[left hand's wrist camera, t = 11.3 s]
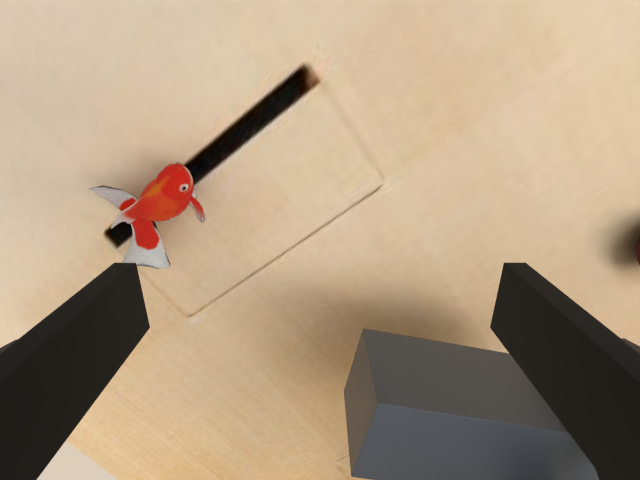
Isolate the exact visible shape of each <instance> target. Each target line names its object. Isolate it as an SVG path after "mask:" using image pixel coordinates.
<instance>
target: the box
mask: <svg viewBox="0 0 640 480" xmlns="http://www.w3.org/2000/svg"><path fill="white" fill-rule="evenodd" d="M344 397H345V409H346V420H347V432H348V443H349V455H350V466H351V476H352V477H359V478H367V479H374V480H599V478H598V475H597V472H596V470H595V467H594V466H593V465H592V463H591V462H590V461H589V459H588V458H587V457H586V455H585V454H584V453H583V451H582V450H581V449H580V447H579V446H578V445H577V443H576V442H575V441H574V439H573V438H572V437H571V435H570V434H569V433H568V431H567V430H566V429H565V427H564V426H563V425H562V423H561V422H560V420H559V419H558V418H557V416H556V415H555V414H554V412H553V411H552V410H551V408H550V407H549V406H548V404H547V403H546V402H545V400H544V399H543V398H542V396H541V395H540V394H539V392H538V391H537V390H536V388H535V387H534V386H533V384H532V383H531V382H530V380H529V379H528V378H527V376H526V375H525V374H524V372H523V371H522V369H521V368H520V367H519V365H518V364H517V363H516V361H515V360H514V359H513V357H512V356H511V355H510V354H508V353H502V352H497V351H491V350H485V349H479V348H473V347H468V346H462V345H456V344H450V343H445V342H439V341H433V340H427V339H421V338H416V337H410V336H404V335H398V334H393V333H387V332H381V331H375V330H369V329H363V331H362V334H361V338H360V341H359V344H358V347H357V351H356V354H355V357H354V360H353V364H352V367H351V370H350V373H349V377H348V380H347V383H346V386H345V390H344Z"/></svg>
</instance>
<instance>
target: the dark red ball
mask: <svg viewBox="0 0 640 480" xmlns="http://www.w3.org/2000/svg"><path fill="white" fill-rule="evenodd" d="M636 257H637V261H638V262H639V264H640V239H639V242H638V244H637V251H636Z"/></svg>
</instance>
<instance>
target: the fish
mask: <svg viewBox="0 0 640 480" xmlns="http://www.w3.org/2000/svg"><path fill="white" fill-rule="evenodd" d="M181 164H182V163H179V164H178V163H176V164H170V165H167V166H166V167H165V168H164V170H163V171H162V172H160V173H159V175H158V177H157V179H155V180H154V181H152V182H150V183H149V184H148V185H147V187H146V188H145V189H144V191H143V192H142V194H141V197H140V199H139V200H137V199H136V198H135V197H134V196H132V195H130V194H129V193H127V192H125V191H123V190H120V189H116V188H111V187H107V186H99V187H94V188H89V189H90V190H92V191H94V192H96V193H97V194H99V195H101V196H102V197H104V198H105V199H107V200H108V201H110V202H111V203H113V204H114V205H115V206H116V207H118V208H119V209H120V210H121V213H120V214H119V215H118V216H117V218H116V219H115V221H114V223H113V225H112V227H111V229H112V228H114V227H115V226H116V225H117V224H119V223H121V222H125V223H127V224H131V226H132V231H133V237H132V241H131V244H130V246H129V248H128V250H127V252H126V254H125V257H124V259H123V261H122V263H136V265H137V266H148V267H153V268H158V269H159V268H166V267H170V262H169V260H168V258H167V256H166V253H165V250H164V247H163V244H162V241H161V238H160V235H159V232H158V230H157V227H156V224H155V222H154V221H165V220H171V221H172V220H173V219H172V218H174V217H176V216H178V215H179V214H180V213H181V212H183V211H184V210H185V209H186V207H187V206H188V204H189V203H190V204H191V206H192V207H193V208H194V209H195V211H196V214H197V217H198V219H199V220H200V221H201V222H204V220H205V216H204V213H203V208H202V206H201V205H200V203H199V202H198V201H197V200H196V199H195V198H196V192H195V189H194V183H193V178H192V176H191V174H190V171H189V170H188V169H187V168H186V167H185V166H183V165H181ZM111 229H110V230H111Z"/></svg>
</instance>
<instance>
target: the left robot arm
mask: <svg viewBox="0 0 640 480" xmlns="http://www.w3.org/2000/svg"><path fill="white" fill-rule="evenodd" d="M149 328H150V326H149V322H148V317H147V312H146V308H145V303H144V298H143V293H142V289H141V284H140V279H139V275H138V270H137V265H136V263H114V264H112V265H111V266H110V267H109V268H107V269H106V270H105V271H104V272H102V273H101V274H100V275H99V276H97V277H96V278H95V279H94V280H92V281H91V282H90V283H89V284H87V285H86V286H85V287H84V288H82V289H81V290H80V291H78V292H77V293H76V294H75V295H73V296H72V297H71V298H70V299H68V300H67V301H66V302H65V303H63V304H62V305H61V306H60V307H58V308H57V309H56V310H55V311H53V312H52V313H51V314H50V315H48V316H47V317H46V318H45V319H43V320H42V321H41V322H40V323H38V324H37V325H36V326H35V327H33V328H32V329H31V330H30V331H28V332H27V333H26V334H25V335H23V336H22V337H21V338H19V339H18V340H15V341H13V342H11V343H9V344H7V345H5V346H3V347H1V348H0V480H37V478H38V477H39V475H40V474H41V473H42V471H43V470H44V469H45V467H46V466H47V465H48V463H49V462H50V461H51V459H52V458H53V457H54V455H55V454H56V453H57V451H58V450H59V449H60V447H61V446H62V445H63V443H64V442H65V441H66V439H67V438H68V437H69V435H70V434H71V433H72V431H73V430H74V429H75V427H76V426H77V425H78V423H79V422H80V420H81V419H82V418H83V416H84V415H85V414H86V412H87V411H88V410H89V408H90V407H91V406H92V404H93V403H94V402H95V400H96V399H97V398H98V396H99V395H100V394H101V392H102V391H103V390H104V388H105V387H106V386H107V384H108V383H109V382H110V380H111V379H112V378H113V376H114V375H115V374H116V372H117V371H118V369H119V368H120V367H121V365H122V364H123V363H124V361H125V360H126V359H127V357H128V356H129V355H130V353H131V352H132V351H133V349H134V348H135V347H136V345H137V344H138V343H139V341H140V340H141V339H142V337H143V336H144V335H145V333H146V332H147V331H148V329H149ZM490 328H491V329H492V331H493V332H494V333H495V335H496V336H497V337H498V339H499V340H500V341H501V343H502V344H503V345H504V347H505V348H506V349H507V351H508V352H509V353H510V355H511V356H512V357H513V359H514V360H515V361H516V363H517V364H518V365H519V367H520V368H521V369H522V371H523V372H524V374H525V375H526V376H527V378H528V379H529V380H530V382H531V383H532V384H533V386H534V387H535V388H536V390H537V391H538V392H539V394H540V395H541V396H542V398H543V399H544V400H545V402H546V403H547V404H548V406H549V407H550V408H551V410H552V411H553V412H554V414H555V415H556V416H557V418H558V419H559V420H560V422H561V423H562V425H563V426H564V427H565V429H566V430H567V431H568V433H569V434H570V435H571V437H572V438H573V439H574V441H575V442H576V443H577V445H578V446H579V447H580V449H581V450H582V451H583V453H584V454H585V455H586V457H587V458H588V459H589V461H590V462H591V463H592V465H593V466H594V467H595V469H596V470H597V471H598V473H599V474H600V476H601V477H602V478H603V480H640V346H638V345H636V344H634V343H632V342H630V341H628V340H626V339H621V338H619V337H618V336H617V335H615V334H614V333H613V332H612V331H610V330H609V329H608V328H607V327H605V326H604V325H603V324H602V323H600V322H599V321H598V320H597V319H595V318H594V317H593V316H592V315H590V314H589V313H588V312H587V311H585V310H584V309H583V308H582V307H580V306H579V305H578V304H577V303H575V302H574V301H573V300H572V299H570V298H569V297H568V296H567V295H565V294H564V293H563V292H562V291H560V290H559V289H558V288H556V287H555V286H554V285H553V284H551V283H550V282H549V281H548V280H546V279H545V278H544V277H543V276H541V275H540V274H539V273H538V272H536V271H535V270H534V269H533V268H531V267H530V266H529V265H528V264H526V263H504V265H503V270H502V275H501V279H500V284H499V289H498V293H497V298H496V303H495V308H494V312H493V317H492V322H491V326H490Z"/></svg>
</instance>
